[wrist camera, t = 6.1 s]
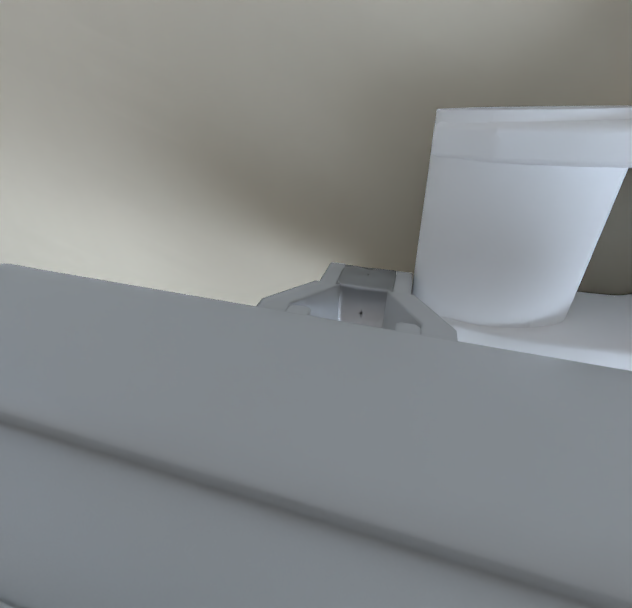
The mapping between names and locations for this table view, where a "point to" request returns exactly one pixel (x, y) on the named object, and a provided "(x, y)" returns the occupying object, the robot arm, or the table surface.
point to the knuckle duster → (525, 228)
